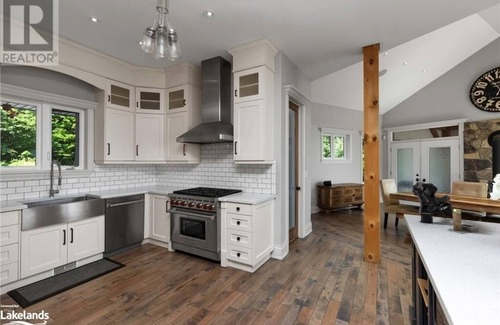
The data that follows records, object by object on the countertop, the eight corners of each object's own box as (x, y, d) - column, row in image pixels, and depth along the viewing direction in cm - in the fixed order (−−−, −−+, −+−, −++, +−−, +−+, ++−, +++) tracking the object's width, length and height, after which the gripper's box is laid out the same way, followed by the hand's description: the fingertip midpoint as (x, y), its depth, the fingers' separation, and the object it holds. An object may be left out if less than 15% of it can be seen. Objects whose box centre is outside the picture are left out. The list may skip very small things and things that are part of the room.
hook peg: (452, 230, 149) (451, 209, 150) (455, 229, 151) (454, 208, 151) (459, 231, 146) (458, 210, 146) (463, 231, 147) (462, 209, 147)
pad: (447, 230, 151) (447, 229, 151) (453, 229, 153) (453, 228, 153) (461, 233, 143) (461, 233, 143) (468, 232, 146) (468, 231, 146)
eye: (456, 229, 153) (456, 224, 153) (463, 227, 155) (463, 223, 155) (471, 232, 145) (471, 228, 145) (478, 231, 148) (478, 226, 148)
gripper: (432, 192, 154) (451, 211, 144) (449, 190, 161) (468, 209, 150) (420, 201, 161) (437, 220, 151) (436, 199, 168) (454, 218, 158)
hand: (450, 216), depth 152 cm, fingers open, 9 cm apart
